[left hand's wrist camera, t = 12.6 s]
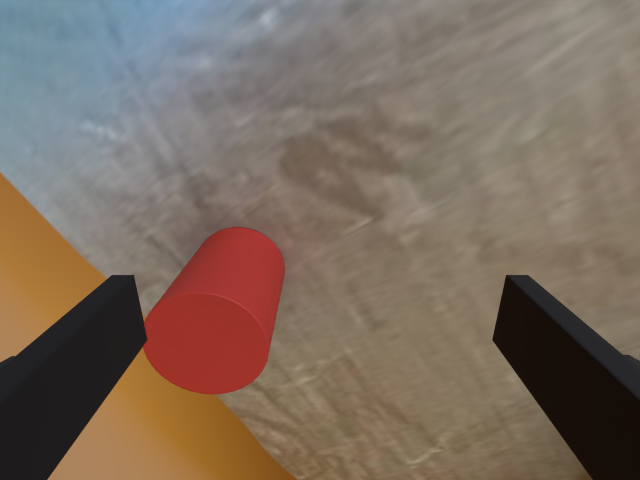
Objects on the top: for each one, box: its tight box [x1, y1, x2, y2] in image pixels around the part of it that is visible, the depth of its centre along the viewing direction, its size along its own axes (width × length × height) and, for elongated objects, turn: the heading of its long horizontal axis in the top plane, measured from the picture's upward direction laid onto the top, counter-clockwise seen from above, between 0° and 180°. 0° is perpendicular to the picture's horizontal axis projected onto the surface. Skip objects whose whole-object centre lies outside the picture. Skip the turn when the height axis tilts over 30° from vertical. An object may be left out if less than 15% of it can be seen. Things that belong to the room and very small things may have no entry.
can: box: [143, 227, 285, 394], centre depth 30 cm, size 9×9×12 cm
